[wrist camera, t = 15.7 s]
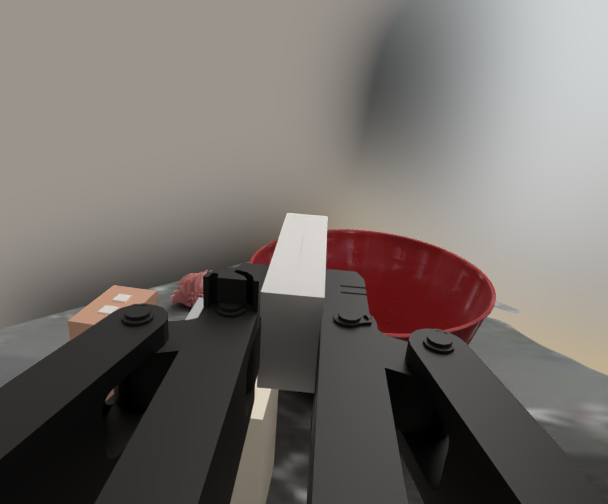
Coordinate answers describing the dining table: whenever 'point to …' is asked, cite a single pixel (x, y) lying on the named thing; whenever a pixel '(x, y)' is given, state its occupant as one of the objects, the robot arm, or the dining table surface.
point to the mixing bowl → (408, 282)
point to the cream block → (258, 450)
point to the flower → (189, 289)
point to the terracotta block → (108, 308)
